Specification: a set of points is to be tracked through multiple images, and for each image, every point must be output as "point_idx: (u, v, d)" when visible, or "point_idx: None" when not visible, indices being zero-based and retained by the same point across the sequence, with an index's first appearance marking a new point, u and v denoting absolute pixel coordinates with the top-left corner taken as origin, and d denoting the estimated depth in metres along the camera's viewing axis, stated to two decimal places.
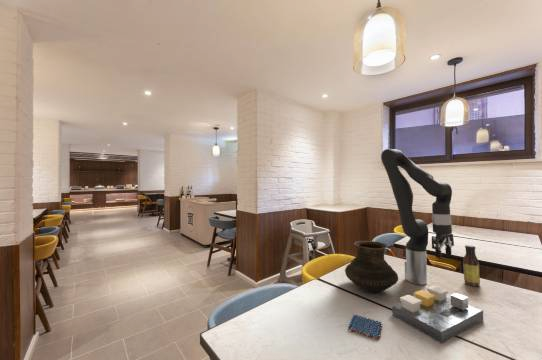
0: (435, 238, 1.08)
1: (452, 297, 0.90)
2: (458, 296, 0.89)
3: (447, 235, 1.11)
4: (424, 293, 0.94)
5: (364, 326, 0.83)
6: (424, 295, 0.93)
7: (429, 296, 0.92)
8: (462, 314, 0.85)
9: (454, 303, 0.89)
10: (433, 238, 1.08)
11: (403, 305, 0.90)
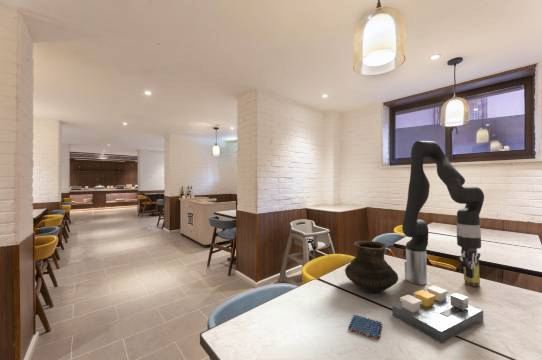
0: (463, 259, 0.90)
1: (452, 297, 0.90)
2: (458, 296, 0.89)
3: None
4: (424, 293, 0.94)
5: (364, 326, 0.83)
6: (424, 295, 0.93)
7: (429, 296, 0.92)
8: (462, 314, 0.85)
9: (454, 303, 0.89)
10: (460, 259, 0.91)
11: (403, 305, 0.90)
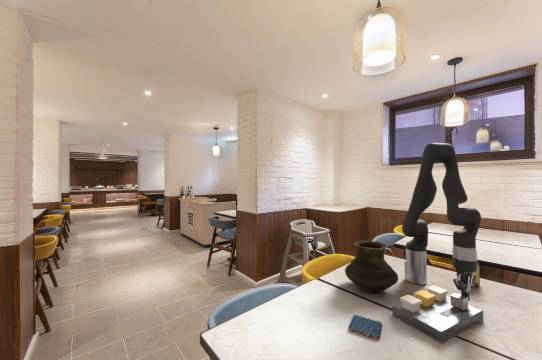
0: (458, 283, 0.88)
1: (452, 297, 0.90)
2: (458, 296, 0.89)
3: None
4: (424, 293, 0.94)
5: (364, 326, 0.83)
6: (424, 295, 0.93)
7: (429, 296, 0.92)
8: (462, 314, 0.85)
9: (454, 303, 0.89)
10: (456, 282, 0.89)
11: (403, 305, 0.90)
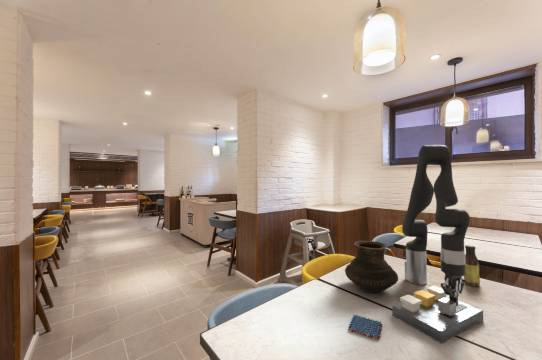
0: (446, 287, 0.85)
1: (440, 302, 0.86)
2: (446, 301, 0.86)
3: None
4: (424, 293, 0.94)
5: (364, 326, 0.83)
6: (424, 295, 0.93)
7: (429, 296, 0.92)
8: (462, 314, 0.85)
9: (441, 308, 0.86)
10: (443, 287, 0.85)
11: (403, 305, 0.90)
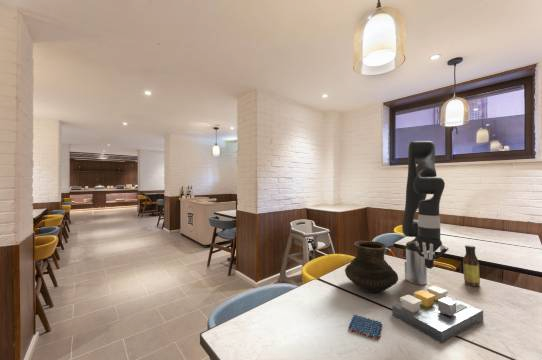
0: None
1: (440, 302, 0.86)
2: (446, 301, 0.86)
3: (436, 241, 0.90)
4: (424, 293, 0.94)
5: (364, 326, 0.83)
6: (424, 295, 0.93)
7: (429, 296, 0.92)
8: (462, 314, 0.85)
9: (441, 308, 0.86)
10: None
11: (403, 305, 0.90)
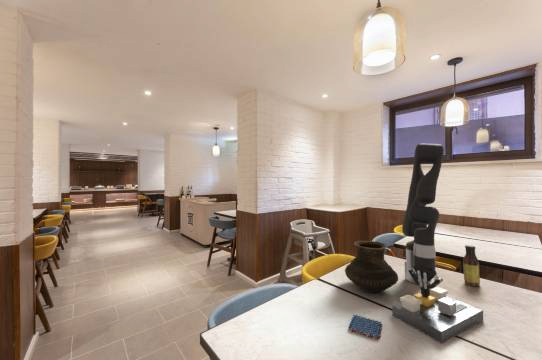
0: None
1: (440, 302, 0.86)
2: (446, 301, 0.86)
3: (429, 270, 0.91)
4: None
5: (364, 326, 0.83)
6: (424, 297, 0.92)
7: (429, 298, 0.92)
8: (462, 314, 0.85)
9: (441, 308, 0.86)
10: None
11: (403, 305, 0.90)
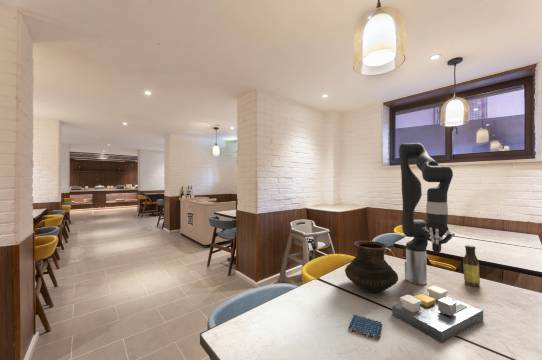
0: None
1: (440, 302, 0.86)
2: (446, 301, 0.86)
3: (442, 226, 0.95)
4: (424, 297, 0.94)
5: (364, 326, 0.83)
6: (424, 299, 0.92)
7: (429, 300, 0.92)
8: (462, 314, 0.85)
9: (441, 308, 0.86)
10: None
11: (403, 305, 0.90)
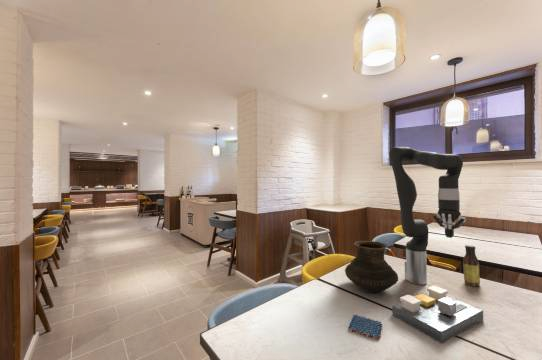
0: None
1: (440, 302, 0.86)
2: (446, 301, 0.86)
3: (454, 211, 0.98)
4: (424, 297, 0.94)
5: (364, 326, 0.83)
6: (424, 299, 0.92)
7: (429, 300, 0.92)
8: (462, 314, 0.85)
9: (441, 308, 0.86)
10: None
11: (403, 305, 0.90)
